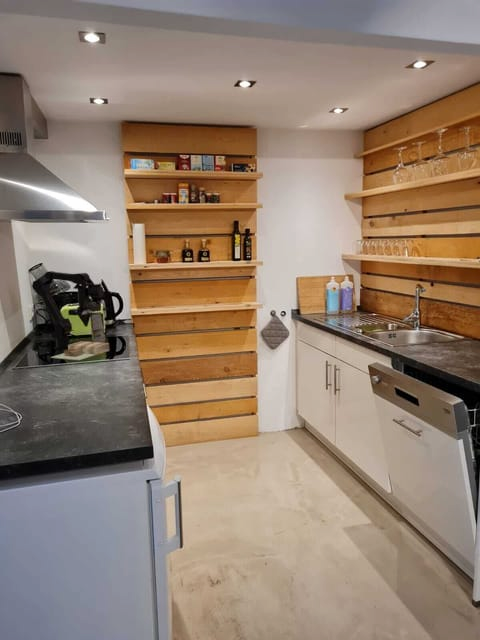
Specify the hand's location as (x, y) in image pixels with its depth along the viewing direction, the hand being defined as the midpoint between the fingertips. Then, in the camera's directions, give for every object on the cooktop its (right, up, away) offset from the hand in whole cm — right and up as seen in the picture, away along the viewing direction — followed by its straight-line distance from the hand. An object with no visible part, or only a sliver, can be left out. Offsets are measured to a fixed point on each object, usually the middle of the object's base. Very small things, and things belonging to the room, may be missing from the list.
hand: (86, 326), depth 256 cm
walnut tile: (-1, -12, -16) cm, 20 cm away
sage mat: (-1, -15, -16) cm, 22 cm away
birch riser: (+3, -13, -6) cm, 15 cm away
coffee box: (0, -9, +23) cm, 24 cm away
